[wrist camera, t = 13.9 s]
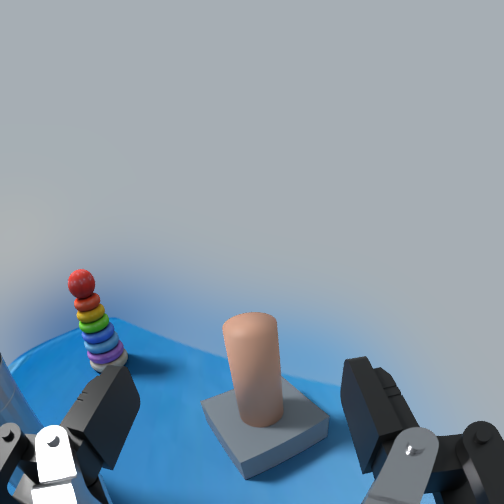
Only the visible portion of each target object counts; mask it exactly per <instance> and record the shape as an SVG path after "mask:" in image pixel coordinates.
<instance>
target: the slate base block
mask: <svg viewBox="0 0 504 504" xmlns="http://www.w3.org/2000/svg"><path fill="white" fill-rule="evenodd" d="M281 381H282V395H283V410H284V412H283V415H282V417H281V419H280V420H279V421H278V422H276V423H275V424H273V425H271V426H267V427H252V426H249V425H247V424H246V423H244V422H243V421H242V419H241V417H240V413H239V409H238V404H237V399H236V395H235V390H234V389H233V390H230V391H228V392H225V393H222V394H220V395H217V396H214V397H211V398H209V399H206V400H203V401H200V402H201V405H202V408H203V411H204V414H205V417H206V420H207V422H208V424H209V426H210V427H211V429H212V431H213V432H214V434H215V436H216V437H217V439H218V440H219V442H220V443H221V445H222V447H223V448H224V450H225V451H226V453H227V454H228V456H229V457H230V459H231V460H232V462H233V463H234V465H235V466H236V467H237V469H238V470H239V472H240V473H241V475H242V476H243V477H244V479H245V480H246V479H248V478H251V477H253V476H255V475H257V474H259V473H262V472H264V471H266V470H268V469H270V468H272V467H274V466H276V465H278V464H280V463H282V462H284V461H286V460H288V459H289V458H291V457H293V456H295V455H297V454H298V453H300V452H302V451H304V450H306V449H307V448H309V447H311V446H312V445H314V444H316V443H317V442H319V441H321V440H322V439H324V438H325V437H327V434H328V425H329V415H327V414H326V413H325V412H324V411H322V410H321V409H320V408H319V407H318V406H316V405H315V404H314V403H313V402H311V401H310V400H309V399H308V398H307V397H305V396H304V395H303V394H302V393H301V392H299V391H298V390H297V389H296V388H295V387H294V386H292V385H291V384H290V383H289V382H288V381H287V380H286V379H284V378H283V377H282V376H281Z"/></svg>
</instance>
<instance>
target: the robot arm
mask: <svg viewBox="0 0 504 504" xmlns="http://www.w3.org/2000/svg"><path fill="white" fill-rule="evenodd" d="M340 395H341V403H342V407H343V410H344V413H345V417H346V420H347V423H348V426H349V430H350V433H351V436H352V440H353V443H354V446H355V450H356V453H357V457H358V460H359V463H360V467H361V470H362V474H366V473H370V472H373V475H374V478H375V480H374V482H373V484H372V485H371V487H370V489H369V491H368V493H367V494H366V496H365V498H364V500H363V501H362V503H361V504H420V501H421V499H422V496H423V494H426V493H433V496H434V499H435V502H436V504H504V440H503V439H502V437H501V436H500V434H499V432H498V430H497V429H496V427H495V426H493V425H492V424H490V423H488V422H485V421H477V422H474V423H472V424H470V425H469V426H468V427H467V428H466V429H465V431H464V432H463V434H458V435H449V436H436V435H435V434H434V433H433V432H432V431H430V430H428V429H426V428H421V427H420V426H419V425H418V423H417V421H416V419H415V418H414V416H413V414H412V412H411V410H410V408H409V406H408V405H407V403H406V401H405V399H404V397H403V396H402V395H401V392H400V390H399V389H398V387H397V386H396V383H395V381H394V380H393V378H392V376H391V375H390V374H389V373H387V372H386V371H385V370H383V369H382V368H381V367H380V368H375V369H373V368H372V366H371V364H370V362H369V360H368V358H367V357H366V356H364V357H359V358H352V359H346V360H345V362H344V368H343V376H342V383H341V392H340ZM139 408H140V397H139V393H138V391H137V389H136V386H135V384H134V382H133V379H132V377H131V374H130V372H129V370H128V368H127V367H125V366H115V365H107V366H106V367H105V369H104V370H103V371H102V373H101V374H100V376H96V377H95V378H94V379H93V380H91V381H90V382H89V383H88V384H87V385H86V386H85V388H84V389H83V391H82V394H80V395H79V397H78V398H77V401H75V403H74V404H73V406H72V407H71V409H70V410H69V412H68V413H67V415H66V416H65V418H64V419H63V421H62V422H61V424H60V425H59V426H56V425H52V426H48V427H46V428H44V427H43V425H42V424H41V422H40V421H39V420H38V418H37V417H36V415H35V414H34V412H33V411H32V409H31V408H30V406H29V404H28V403H27V401H26V400H25V398H24V396H23V395H22V393H21V391H20V389H19V388H18V386H17V384H16V382H15V381H14V379H13V377H12V375H11V373H10V371H9V369H8V368H7V366H6V364H5V362H4V359H3V357H2V356H1V353H0V504H113V503H112V501H111V498H110V496H109V493H108V491H107V488H106V486H105V483H104V480H103V477H102V475H101V474H100V473H99V472H100V470H101V468H102V467H103V468H106V469H110V470H113V469H114V466H115V464H116V462H117V459H118V457H119V454H120V452H121V450H122V447H123V445H124V443H125V440H126V438H127V436H128V433H129V431H130V429H131V426H132V424H133V422H134V420H135V417H136V415H137V413H138V410H139ZM8 482H10V483H11V484H12V485H13V486H14V487H15V488H16V490H15V492H14V494H13V496H11V495H10V494H9V492H8V490H7V484H8Z"/></svg>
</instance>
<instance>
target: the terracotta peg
mask: <svg viewBox="0 0 504 504" xmlns="http://www.w3.org/2000/svg"><path fill="white" fill-rule="evenodd" d="M222 329H223V335H224V339H225V345H226V350H227V356H228V361H229V366H230V371H231V376H232V380H233V385H234V390H235V395H236V399H237V404H238V409H239V413H240V417H241V419H242V421H243V422H244V423H246V424H247V425H249V426H252V427H267V426H271V425H273V424H275V423H276V422H278V421H279V420H280V419H281V417H282V415H283V412H284V410H283V395H282V381H281V370H280V356H279V343H278V332H277V322H276V319H275V318H274V317H273V316H271V315H269V314H266V313H260V312H251V313H243V314H239V315H237V316H234V317H232V318H230V319H229V320H227V321H226V322H225V323H224V325H223V328H222Z"/></svg>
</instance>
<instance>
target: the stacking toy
mask: <svg viewBox="0 0 504 504" xmlns="http://www.w3.org/2000/svg"><path fill="white" fill-rule="evenodd" d="M68 288H69V290H70V292H71V293H72V295H73V296H75V297H76V298H77V299H76V300H75V302H74V306H75V308H76V309H77V310H78V312H77V318H78V320H79V321H80V322H79V327H80V329H81V330H82V331H83V332H82V337H83V339H84V340H85V348H86V349H87V350H88V351H87V355H88V357H89V359H90V364H91V366H92V368H93V369H94V370H96V371H98V372H102V371H103V370H104V369H105V367H106V366H107V365H115V366H123V365H124V364H125V363H126V361H127V359H128V354H127V351H126V350H125V349H124V347H123V344H122V342H121V341H120V340H119V337H118V334H117V333H116V332H115V331H114V326H113V324H112V323H111V322H109V317H108V316H107V314H105V313H104V312H105V309H104V307H103V305H102V304H100V297H99V295H98V294H96V293H93V291H94V288H95V281H94V278H93V276H92V275H91V273H90V272H88V271H87V270H84V269H79V270H76V271H74V272H73V273H72V274H71V275H70V277H69V279H68Z"/></svg>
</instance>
